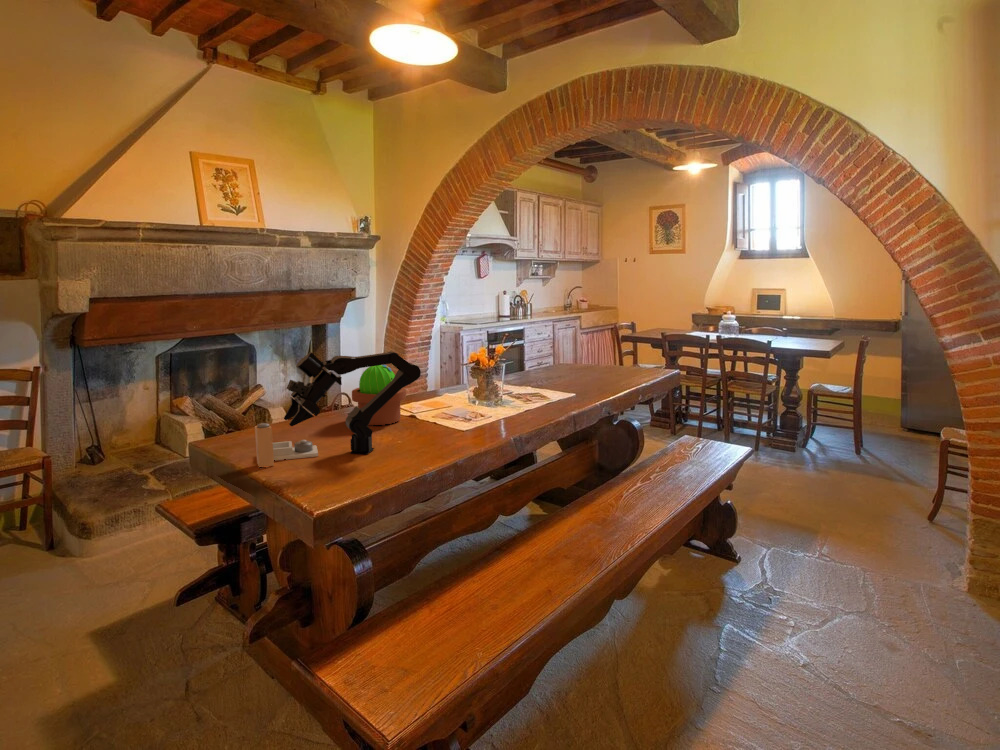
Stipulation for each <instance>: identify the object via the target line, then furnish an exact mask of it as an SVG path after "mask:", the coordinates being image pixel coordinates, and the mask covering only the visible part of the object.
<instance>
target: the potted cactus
mask: <svg viewBox="0 0 1000 750" xmlns="http://www.w3.org/2000/svg"><path fill="white" fill-rule="evenodd" d="M395 375H396V373H395V372H393V369H392V368H391V367H389V366H388V364H384V365H378V366H371V367H366V369H365V370H363V371H362V373H361V376H360V378H359V381H358V383H359V384H358V386H359V387H356V388H354V389H352V391H351V400H352V401H353V402H356V403H357V407H358V408H359V409H360V408H362V407H364V406H365V405H366V404H367V403H368V402H370V401H371V400H372V399H373V398H374V397H375V396H376V395H377V394H378V393H379V392H380V391H381V390H382V389H383V388H384V387H386V386H387V385H388V384H389V383H390V382H391V381H392V380H393V379H394V377H395ZM406 397H407V396H406V388H405V387H403V388H402V389H401V390H400V391H398V392H397V393H396V394H395V395H394V396H393V397H392V398H391V399H390V400H389V401H388V402H387V403H386V404H385V405H384V406H383V407H382V408H381V409H379V410H378V411H377V412H376V413H375V414H374V415H373V417H372V419H371V421H370V423H369V424H368V426H373V425H382V426H386V425H385V424H390V425H392V424H391V423H394V424H396V423H395V422H397V421H398V422H400V421H401V418H402V417H401V401H404V400H405V399H406ZM399 420H400V421H399ZM398 422H397V423H398Z"/></svg>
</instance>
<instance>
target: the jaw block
mask: <svg viewBox="0 0 1000 750" xmlns="http://www.w3.org/2000/svg"><path fill="white" fill-rule="evenodd" d="M254 436H255V448H256V449H255V450H256V463H257V464H258V465H257V467H258V466H259V467H264V466H273V467H275V461H274V455H273V443H274V442H273V441H274V440H273V427H272V426H271V425H270V424H269V423H268V422H262V423H257V425H255V426H254ZM259 467H258V468H259Z"/></svg>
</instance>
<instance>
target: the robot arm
mask: <svg viewBox="0 0 1000 750" xmlns="http://www.w3.org/2000/svg"><path fill="white" fill-rule="evenodd" d="M384 364H385V365H389V364H391V365H393V366H394V368H396V369H397V372H396V373H395V377H394V379H393V380H392V381H391V382H390V383H389V384H388V385H387V386H386V387H384V388H383V389H382V390H381V391H380V392H379V393H378V394H377V395H376V396H375V397H374V398H373V399H372V400H371V401H370V402H368V403H367V404H366V405H365V406H364V407H362V408H360V409H359V408H358V405H357V406H355V407H353V408H352V410H351V411H350V412H348V413H347V417H346V418H345V425H346V427H347V429H349V430H350V431H351V432H352V433H353V434H351V438H350V454H351V455H353V454H354V455H368V453H369V454H370V453H371V452H373V451H372V450H373V449H374V450H375V448H374V447H373V437H372V436H373V430H372V429H371V428H370V427H369V425H368V424H369V423H370V421H371V419H372V417H373V415H374V414H375V413H376V412H377V411H378V410H379V409H381V408H382V407H383V406H384V405H385V404H386V403H387V402H388V401H389V400H390V399H391V398H392V397H393V396H394V395H395V394H396V393H397V392H398V391H400V390H401V389H402V388H405V387H407V386H409V385H411V384H413V383H414V382H416V381H417V380H418V379H420V377H421V376H422V375H421V368H420V367H419V366H418V365H416V364H414V363H411V362H408V361H407V360H406V359H405V358H402V357H401V356H400V355H399V354H398V353H397V352H396V351H392V350H391V351H387V352H381V353H376V354H375V353H374V354H373V353H372V354H367V355H366V354H365V355H360V356H359V355H358V356H351V355H334V356H332V358H331V359H328V360H322V361H321V360H320V359H319V358H318V357H317V356H316V355H315V354H314V353H313V352H311V351H310V352H309V353H308V354H306V355H305V356H304V357H302V358H300V360H299V361H298V362H297V364H296V366H295V367H296V368H297V369H298V370H299V371H300V372H302V373H303V374H305V375H306V376H307V377H308V378H312V377H313V378H314V380H312V382H307V384H305V382H302V381H300V380H298V381H295V380H293V379H290V380H289V382H288V384H287V386H286V389H287V390H288V391H289V392H292V393H290V397H289V399H290V406H289V407H288V409H287V412H286V413H285V415H284V416H283V420H285V421H288V420H289V419H291V418H292V419H291V420H290V422H289V426H290V427H293V426H295V425H298V424H301V423H303V422H304V421H307V420H309V419H311V418H315V417H318V415H320V413H321V407H320V406H318V404H317V403H318V402H319V401H321V399H322V398H325V397H326V396H327V395H326V394H327V392H328V391H329V390H330V389H331V388H332V387H333V386H334V384H335V383H336V384H338V385H339V386H342V384H343V383H342V376H343V375H346V374H349V373H352V372H354V371H356V370H358V369H362V368H369V367H371V366H378V365H384ZM325 369H326V370H327V371H326V370H325ZM334 373H335V374H334ZM336 374H337V375H340V376H337V375H336ZM341 375H342V376H341Z"/></svg>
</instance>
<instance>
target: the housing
mask: <svg viewBox="0 0 1000 750" xmlns="http://www.w3.org/2000/svg"><path fill="white" fill-rule="evenodd" d="M273 455H274V460H275V461H284V459H286V460H295V459H304V458H305V459H306V458H314V457H319V451H318V447H317V444H316V445H315V444H314V445H313V442H312V441H311V440H307V439H301V440H299V441H296V442H294V446H293V442H292V440H288V441H279V442H278V441H277V442H273Z"/></svg>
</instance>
